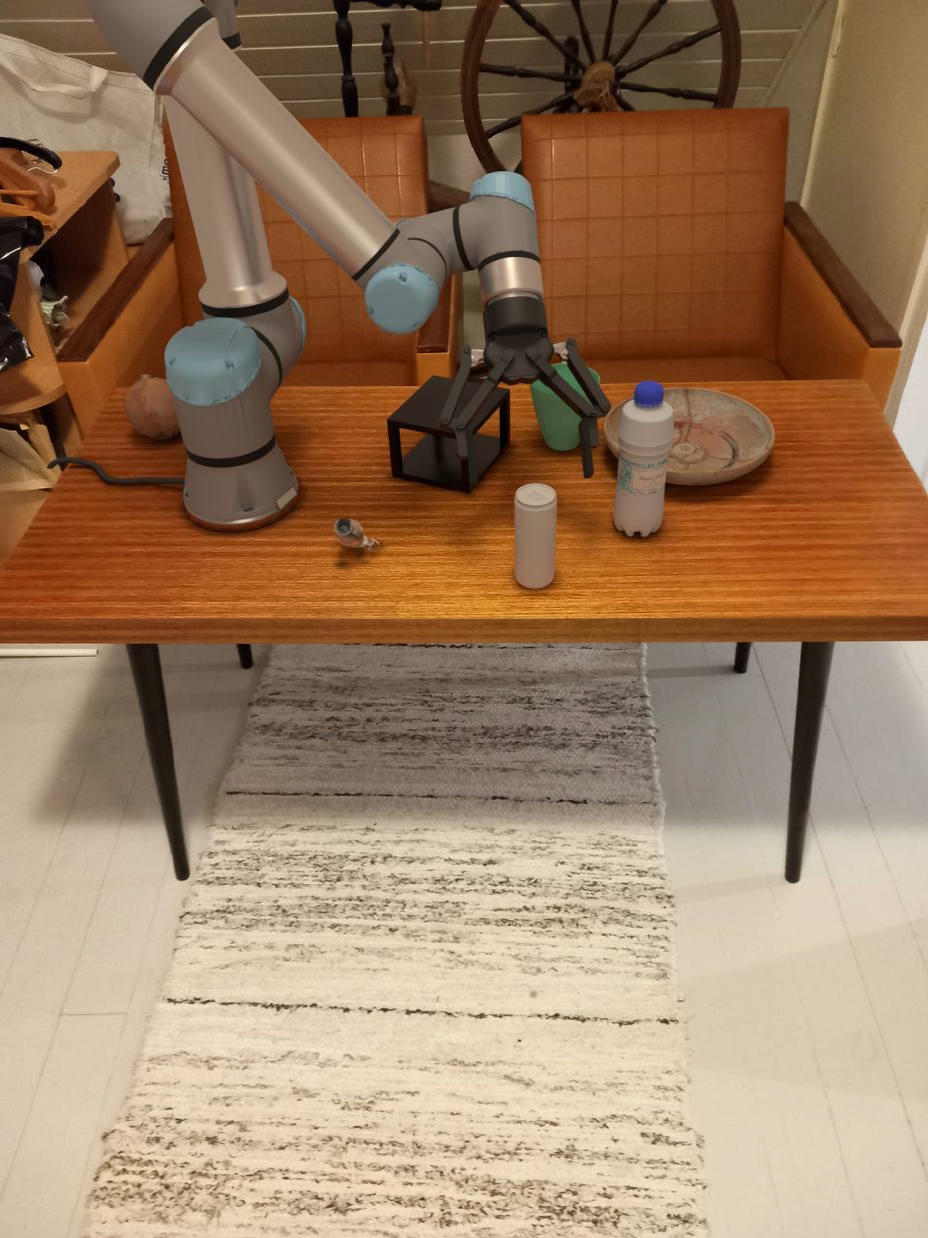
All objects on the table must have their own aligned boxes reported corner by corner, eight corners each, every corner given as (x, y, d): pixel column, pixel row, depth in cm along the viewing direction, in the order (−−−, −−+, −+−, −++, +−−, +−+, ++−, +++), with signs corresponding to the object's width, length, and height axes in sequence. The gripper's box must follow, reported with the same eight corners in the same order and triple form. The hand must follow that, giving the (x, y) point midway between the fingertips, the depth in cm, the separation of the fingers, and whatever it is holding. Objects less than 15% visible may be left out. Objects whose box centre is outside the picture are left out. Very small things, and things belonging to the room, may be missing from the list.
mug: (594, 461, 139) (598, 396, 132) (525, 457, 140) (525, 393, 134) (600, 411, 150) (604, 349, 143) (536, 408, 151) (537, 347, 145)
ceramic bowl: (566, 452, 141) (567, 421, 138) (682, 401, 151) (685, 371, 148) (686, 523, 126) (691, 490, 123) (805, 462, 137) (812, 430, 133)
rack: (391, 476, 137) (386, 418, 132) (436, 430, 147) (433, 374, 141) (470, 494, 133) (468, 435, 127) (510, 445, 143) (510, 388, 137)
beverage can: (530, 562, 121) (531, 478, 113) (562, 576, 119) (565, 491, 111) (506, 581, 118) (505, 496, 111) (539, 596, 116) (540, 510, 108)
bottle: (622, 546, 123) (634, 400, 110) (602, 517, 128) (612, 374, 115) (671, 536, 124) (690, 391, 111) (650, 508, 129) (665, 366, 116)
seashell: (361, 570, 121) (355, 530, 117) (322, 561, 123) (316, 521, 119) (381, 546, 125) (377, 506, 121) (343, 537, 126) (338, 498, 123)
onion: (153, 443, 153) (127, 380, 150) (209, 425, 151) (183, 361, 149) (130, 453, 144) (102, 386, 141) (188, 434, 143) (161, 366, 140)
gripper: (611, 310, 122) (630, 479, 120) (409, 326, 121) (425, 496, 119) (623, 284, 114) (643, 463, 112) (408, 301, 113) (425, 482, 111)
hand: (531, 481), depth 115 cm, fingers open, 13 cm apart
